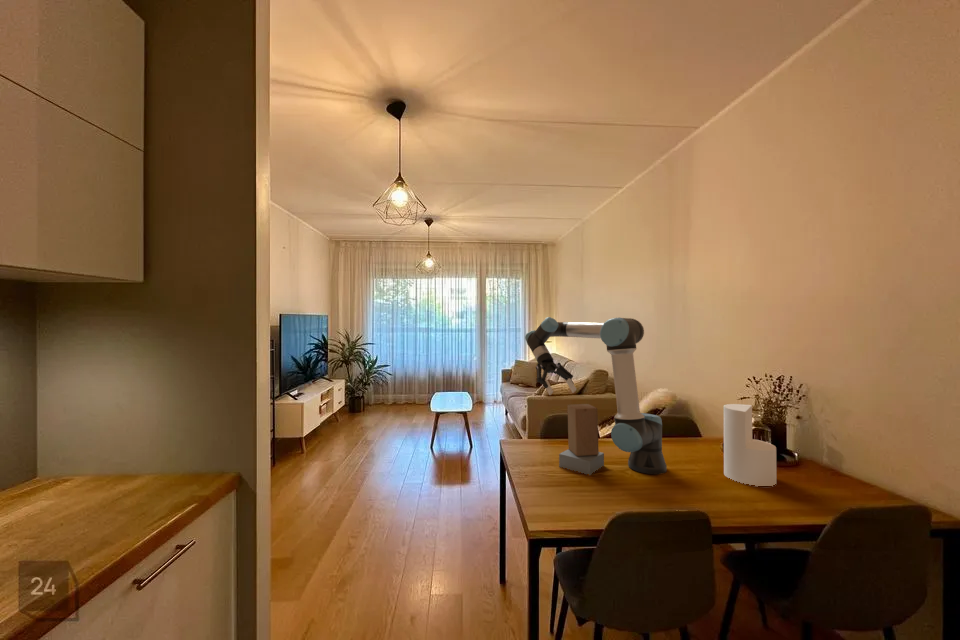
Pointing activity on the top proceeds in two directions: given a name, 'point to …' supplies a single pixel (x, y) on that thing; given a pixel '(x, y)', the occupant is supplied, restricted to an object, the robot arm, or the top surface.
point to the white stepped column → (746, 449)
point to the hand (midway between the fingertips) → (563, 392)
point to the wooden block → (583, 429)
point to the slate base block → (581, 462)
